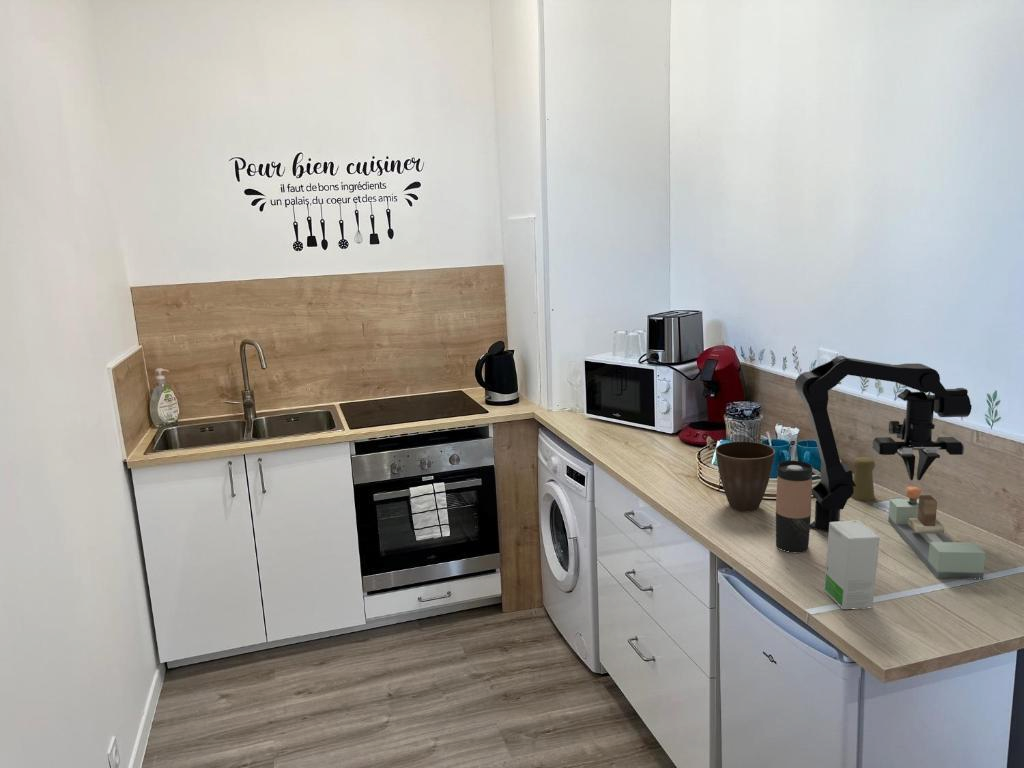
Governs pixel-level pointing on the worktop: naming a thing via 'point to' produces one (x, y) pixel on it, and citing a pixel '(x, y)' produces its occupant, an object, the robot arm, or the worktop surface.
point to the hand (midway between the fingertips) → (914, 479)
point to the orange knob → (913, 494)
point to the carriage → (926, 516)
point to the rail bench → (937, 546)
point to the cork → (863, 479)
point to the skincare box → (851, 564)
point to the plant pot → (744, 473)
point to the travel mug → (793, 505)
